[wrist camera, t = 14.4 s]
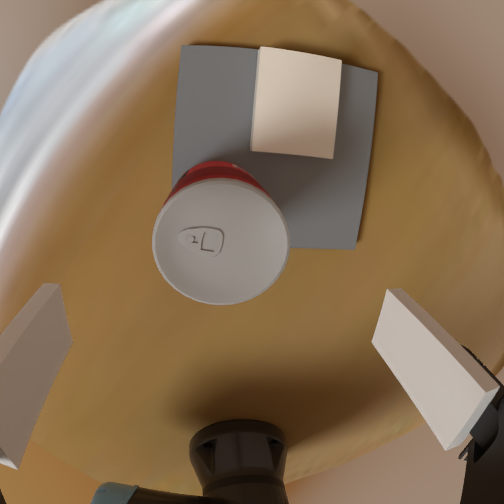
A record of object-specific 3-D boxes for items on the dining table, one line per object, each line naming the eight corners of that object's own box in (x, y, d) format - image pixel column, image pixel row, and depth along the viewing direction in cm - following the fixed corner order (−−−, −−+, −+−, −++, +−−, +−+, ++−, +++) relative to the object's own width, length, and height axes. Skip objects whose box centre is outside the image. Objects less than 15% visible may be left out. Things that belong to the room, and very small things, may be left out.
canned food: (168, 163, 26) (142, 185, 16) (261, 157, 27) (292, 176, 17) (176, 246, 29) (161, 310, 19) (262, 240, 30) (290, 300, 20)
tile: (332, 159, 26) (341, 60, 23) (251, 151, 25) (260, 46, 22) (326, 157, 28) (334, 63, 24) (249, 149, 27) (257, 50, 23)
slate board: (350, 245, 33) (354, 249, 32) (173, 239, 30) (171, 244, 29) (372, 74, 26) (377, 72, 25) (182, 48, 23) (181, 45, 22)
